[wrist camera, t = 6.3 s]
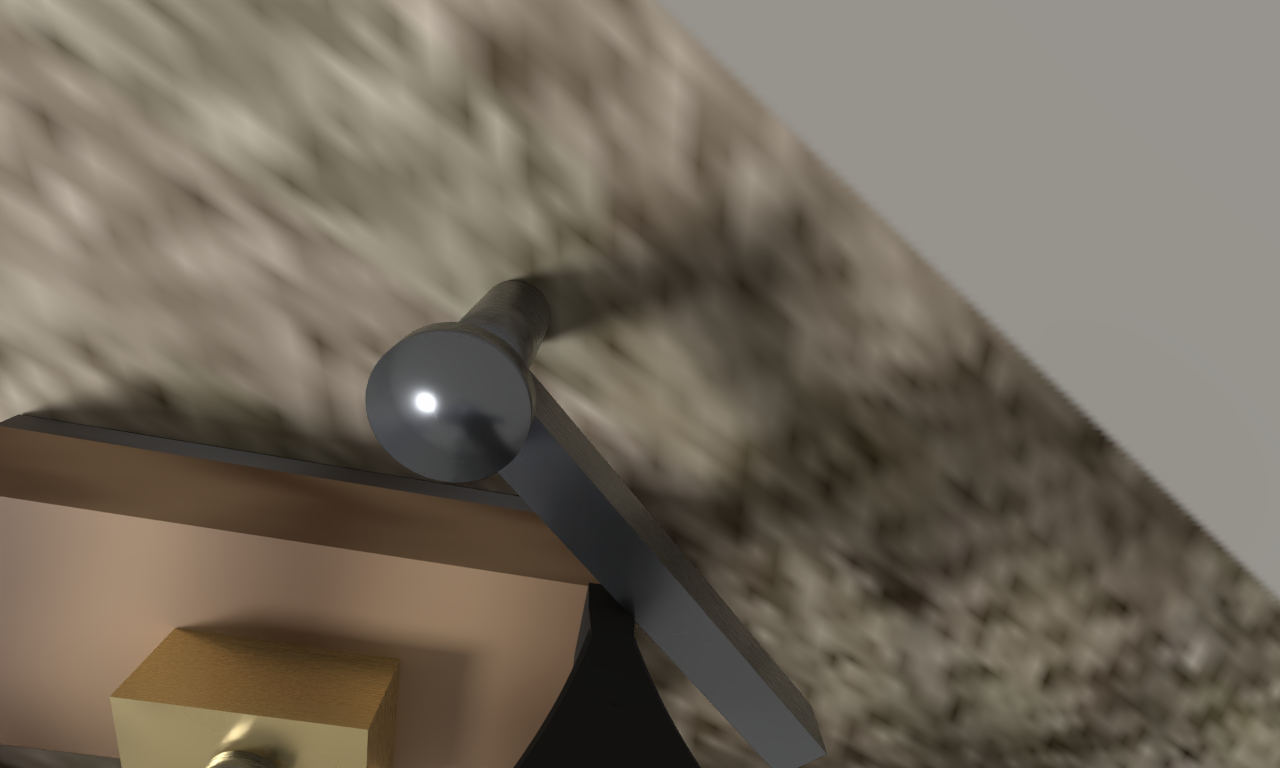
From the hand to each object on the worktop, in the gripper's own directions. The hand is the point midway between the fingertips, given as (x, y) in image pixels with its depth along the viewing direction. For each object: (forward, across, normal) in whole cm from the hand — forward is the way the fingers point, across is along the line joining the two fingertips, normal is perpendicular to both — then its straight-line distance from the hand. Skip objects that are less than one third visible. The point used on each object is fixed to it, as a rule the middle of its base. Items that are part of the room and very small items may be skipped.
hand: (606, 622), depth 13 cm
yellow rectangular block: (+1, +7, +4) cm, 8 cm away
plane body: (+4, +7, +3) cm, 9 cm away
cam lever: (+3, 0, -2) cm, 4 cm away
